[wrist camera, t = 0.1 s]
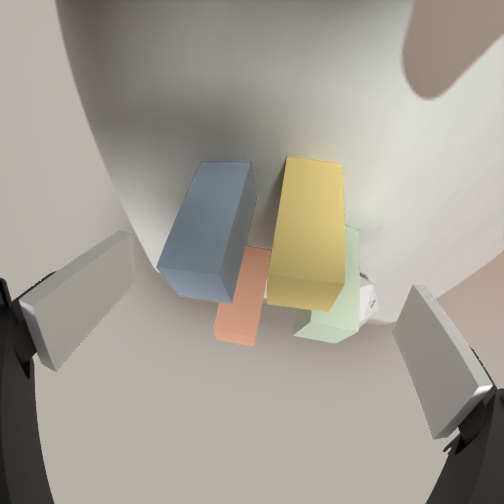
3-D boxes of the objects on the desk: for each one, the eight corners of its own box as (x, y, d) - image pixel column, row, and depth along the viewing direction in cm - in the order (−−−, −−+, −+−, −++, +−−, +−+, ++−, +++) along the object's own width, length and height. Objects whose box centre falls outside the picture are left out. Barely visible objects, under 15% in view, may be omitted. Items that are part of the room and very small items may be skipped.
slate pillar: (201, 162, 27) (156, 267, 20) (250, 162, 26) (218, 274, 19) (212, 196, 31) (178, 295, 25) (256, 198, 30) (232, 303, 24)
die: (365, 289, 44) (394, 324, 35) (319, 314, 44) (340, 354, 36) (353, 249, 40) (386, 282, 31) (302, 276, 41) (324, 316, 32)
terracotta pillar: (234, 243, 38) (213, 329, 32) (271, 250, 38) (255, 337, 31) (234, 262, 42) (216, 339, 36) (267, 268, 42) (253, 347, 36)
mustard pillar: (287, 156, 24) (267, 274, 18) (341, 164, 24) (344, 284, 17) (284, 194, 29) (267, 304, 22) (332, 201, 28) (328, 312, 22)
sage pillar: (318, 217, 30) (310, 321, 24) (358, 229, 31) (358, 331, 24) (303, 241, 35) (292, 335, 28) (340, 251, 35) (335, 343, 29)
